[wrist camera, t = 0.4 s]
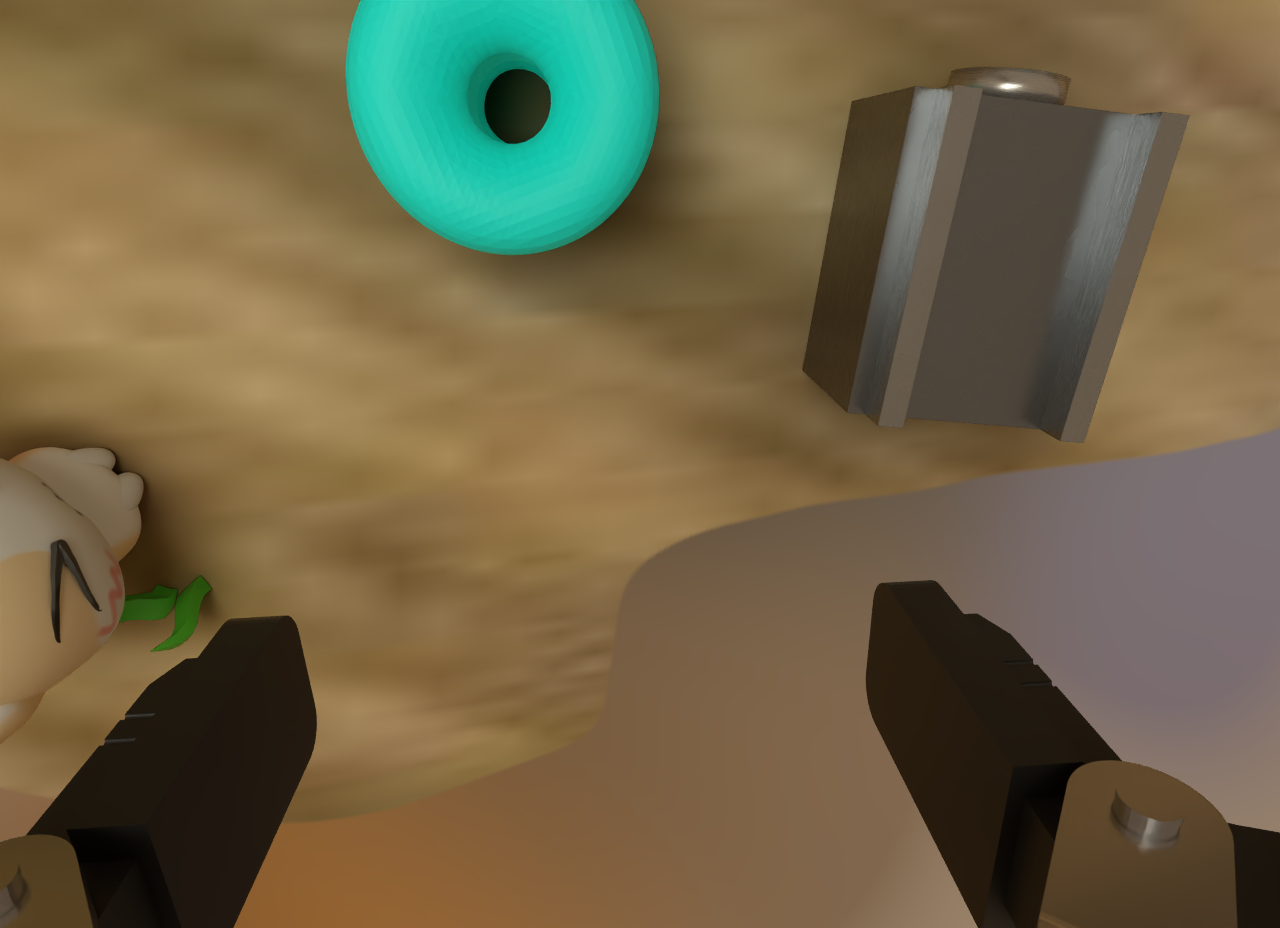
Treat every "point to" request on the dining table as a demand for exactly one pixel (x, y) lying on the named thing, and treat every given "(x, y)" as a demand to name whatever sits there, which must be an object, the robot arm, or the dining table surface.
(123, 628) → the dining table surface
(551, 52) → the donuts
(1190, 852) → the robot arm
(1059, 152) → the motor housing
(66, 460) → the kitten
